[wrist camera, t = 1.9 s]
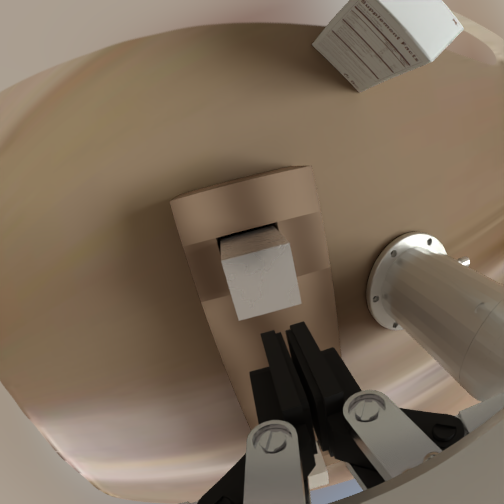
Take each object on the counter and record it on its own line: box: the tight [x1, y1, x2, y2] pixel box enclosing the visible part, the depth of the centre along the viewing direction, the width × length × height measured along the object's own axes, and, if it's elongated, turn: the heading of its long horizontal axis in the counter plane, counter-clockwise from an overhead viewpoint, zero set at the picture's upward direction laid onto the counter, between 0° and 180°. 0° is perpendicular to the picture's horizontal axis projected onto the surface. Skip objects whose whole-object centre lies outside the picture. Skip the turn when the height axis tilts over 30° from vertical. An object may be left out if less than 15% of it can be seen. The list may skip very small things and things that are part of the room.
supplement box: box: [312, 0, 464, 92], centre depth 18 cm, size 7×7×13 cm
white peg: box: [308, 441, 329, 489], centre depth 29 cm, size 4×4×6 cm
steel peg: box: [220, 226, 302, 321], centre depth 21 cm, size 4×4×6 cm
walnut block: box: [169, 166, 341, 466], centre depth 30 cm, size 11×40×6 cm, turn 14°
